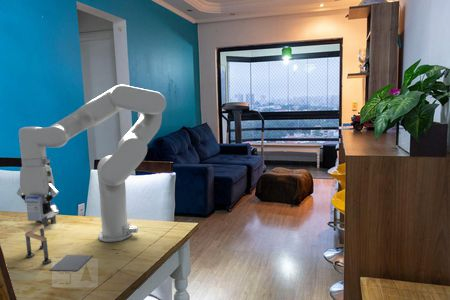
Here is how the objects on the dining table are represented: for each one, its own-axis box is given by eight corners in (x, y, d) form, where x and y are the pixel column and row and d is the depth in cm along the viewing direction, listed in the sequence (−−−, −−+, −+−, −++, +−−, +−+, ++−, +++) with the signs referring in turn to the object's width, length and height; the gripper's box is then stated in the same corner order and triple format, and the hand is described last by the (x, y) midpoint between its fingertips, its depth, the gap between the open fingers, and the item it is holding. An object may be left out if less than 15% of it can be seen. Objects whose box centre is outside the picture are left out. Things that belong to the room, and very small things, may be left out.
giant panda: (33, 222, 146) (30, 201, 144) (45, 219, 150) (43, 198, 149) (52, 229, 138) (49, 207, 137) (64, 225, 143) (62, 203, 141)
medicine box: (38, 213, 122) (36, 190, 121) (51, 213, 122) (49, 190, 121) (27, 221, 114) (25, 196, 113) (41, 220, 115) (38, 196, 113)
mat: (92, 256, 113) (92, 255, 113) (77, 271, 103) (77, 270, 103) (66, 255, 114) (66, 254, 114) (49, 270, 104) (49, 269, 104)
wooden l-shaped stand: (69, 246, 121) (68, 223, 120) (48, 264, 108) (45, 238, 106) (41, 246, 122) (38, 223, 120) (15, 263, 109) (13, 238, 107)
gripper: (64, 160, 118) (68, 209, 121) (18, 160, 120) (23, 209, 122) (51, 164, 111) (56, 217, 114) (3, 164, 112) (9, 216, 115)
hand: (39, 212), depth 118 cm, fingers closed on medicine box, 4 cm apart
